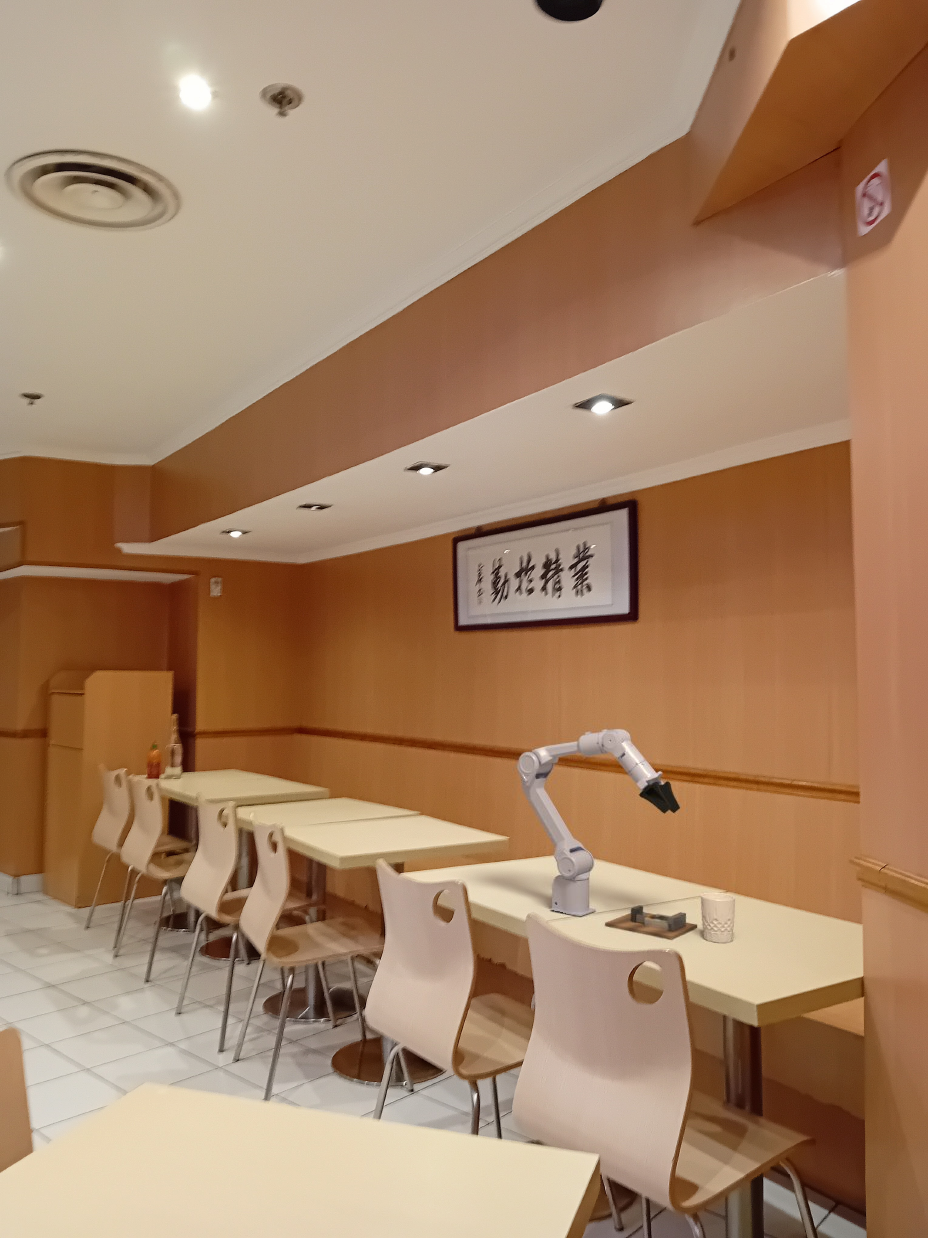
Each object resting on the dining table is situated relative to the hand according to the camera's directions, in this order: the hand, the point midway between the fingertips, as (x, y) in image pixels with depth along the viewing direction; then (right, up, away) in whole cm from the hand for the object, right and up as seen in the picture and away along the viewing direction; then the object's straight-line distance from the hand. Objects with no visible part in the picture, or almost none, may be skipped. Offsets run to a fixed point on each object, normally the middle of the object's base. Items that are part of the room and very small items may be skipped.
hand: (672, 810), depth 224 cm
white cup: (+9, -29, -10) cm, 31 cm away
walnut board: (-5, -29, 0) cm, 29 cm away
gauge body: (-2, -28, -2) cm, 28 cm away
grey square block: (-7, -28, 0) cm, 29 cm away
